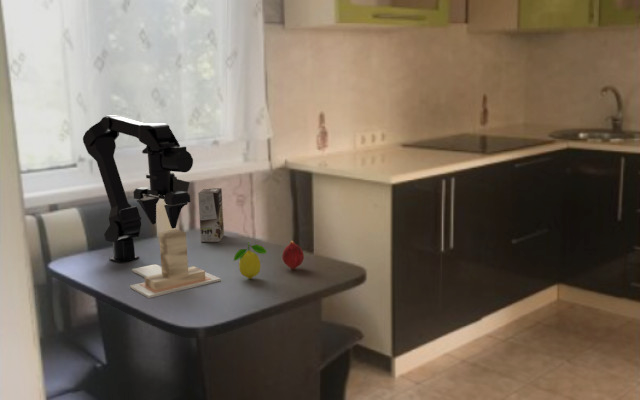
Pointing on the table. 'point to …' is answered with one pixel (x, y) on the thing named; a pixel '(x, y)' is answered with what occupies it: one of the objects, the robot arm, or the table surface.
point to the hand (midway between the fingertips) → (163, 226)
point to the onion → (293, 255)
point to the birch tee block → (173, 262)
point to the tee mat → (151, 292)
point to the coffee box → (211, 215)
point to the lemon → (249, 261)
